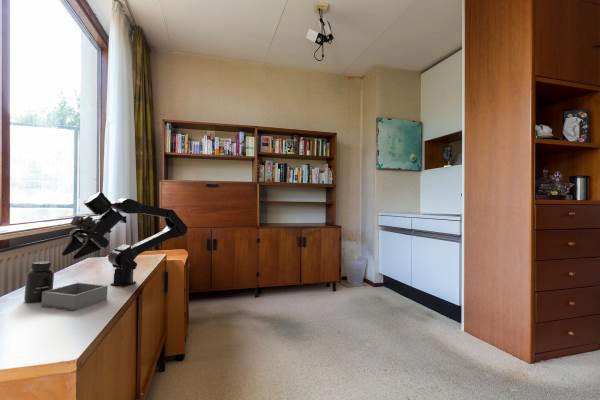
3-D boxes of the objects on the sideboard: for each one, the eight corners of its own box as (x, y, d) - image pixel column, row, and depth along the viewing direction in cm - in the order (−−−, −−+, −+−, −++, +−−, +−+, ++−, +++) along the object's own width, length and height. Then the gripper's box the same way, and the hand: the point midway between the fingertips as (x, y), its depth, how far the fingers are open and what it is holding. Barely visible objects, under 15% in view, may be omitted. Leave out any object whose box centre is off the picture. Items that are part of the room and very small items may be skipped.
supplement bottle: (39, 303, 92) (42, 264, 93) (17, 302, 92) (20, 263, 93) (58, 297, 99) (60, 260, 99) (37, 296, 99) (40, 259, 99)
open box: (77, 295, 101) (77, 282, 101) (106, 299, 99) (107, 285, 99) (41, 306, 90) (42, 291, 90) (73, 311, 87) (74, 295, 87)
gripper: (77, 207, 112) (37, 238, 102) (101, 209, 102) (59, 244, 92) (99, 227, 118) (64, 258, 109) (123, 231, 108) (87, 266, 99)
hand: (68, 256), depth 102 cm, fingers open, 9 cm apart
